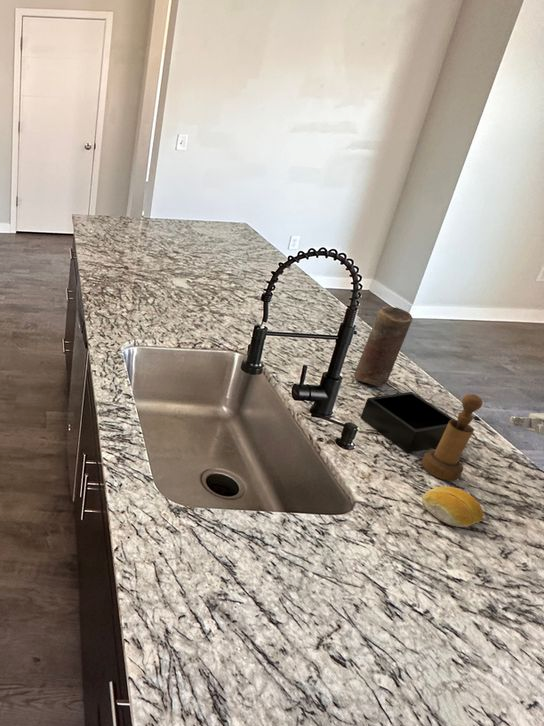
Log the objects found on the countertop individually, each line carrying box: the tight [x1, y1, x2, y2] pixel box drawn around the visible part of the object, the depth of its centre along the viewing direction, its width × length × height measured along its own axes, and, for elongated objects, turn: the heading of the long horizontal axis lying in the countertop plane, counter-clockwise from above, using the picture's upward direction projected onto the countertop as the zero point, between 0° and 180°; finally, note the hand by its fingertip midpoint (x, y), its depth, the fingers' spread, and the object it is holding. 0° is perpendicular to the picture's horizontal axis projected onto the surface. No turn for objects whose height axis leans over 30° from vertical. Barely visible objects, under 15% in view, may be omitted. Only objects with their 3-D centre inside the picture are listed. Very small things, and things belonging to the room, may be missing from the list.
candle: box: [353, 306, 413, 387], centre depth 135 cm, size 8×7×20 cm
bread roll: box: [421, 486, 484, 528], centre depth 98 cm, size 8×9×4 cm
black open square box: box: [360, 391, 456, 454], centre depth 119 cm, size 13×13×6 cm
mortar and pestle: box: [420, 393, 483, 482], centre depth 105 cm, size 7×6×18 cm
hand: (524, 424), depth 105 cm, fingers open, 8 cm apart
